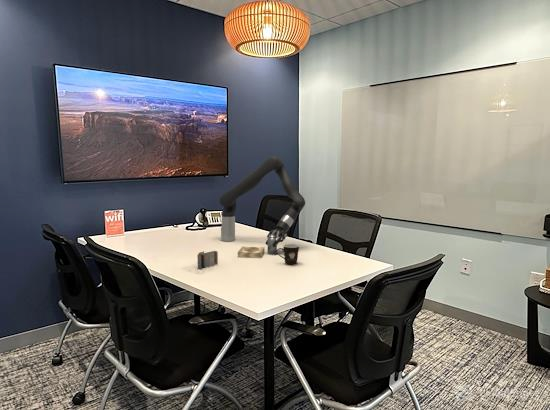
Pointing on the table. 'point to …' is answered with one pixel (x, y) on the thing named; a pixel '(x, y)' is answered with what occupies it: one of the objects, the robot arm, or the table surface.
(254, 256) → the stand
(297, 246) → the coffee mug
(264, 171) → the robot arm
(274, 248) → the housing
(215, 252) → the grey rusty box
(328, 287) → the table surface
